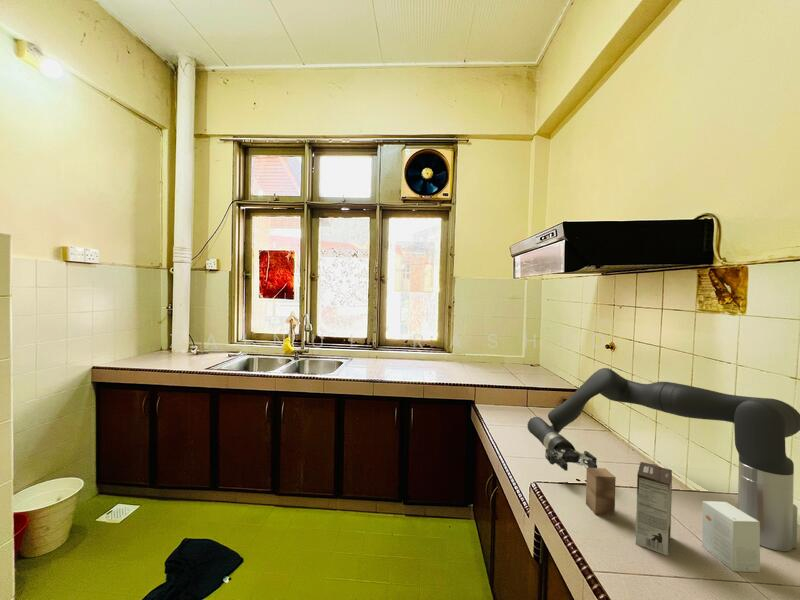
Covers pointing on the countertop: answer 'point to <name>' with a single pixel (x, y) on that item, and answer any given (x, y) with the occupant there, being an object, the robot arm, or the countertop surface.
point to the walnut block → (600, 491)
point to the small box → (731, 536)
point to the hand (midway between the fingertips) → (580, 468)
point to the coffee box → (654, 507)
